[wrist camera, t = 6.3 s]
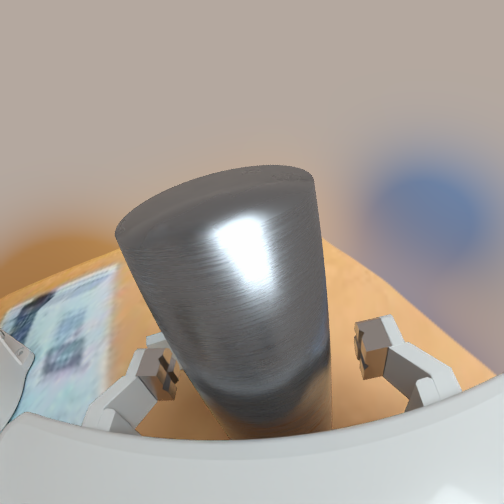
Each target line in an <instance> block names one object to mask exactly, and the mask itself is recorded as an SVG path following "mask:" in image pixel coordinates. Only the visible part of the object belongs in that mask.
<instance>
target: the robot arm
mask: <svg viewBox="0 0 504 504" xmlns="http://www.w3.org/2000/svg"><path fill="white" fill-rule="evenodd" d="M354 330H355V333H356V335H355V337H354V346H355V352H356V356H357V359H358V360H360V371H361V374H362V378H363V380H366V379H371V378H376V377H380V376H383V377H384V378H385V379H386V380H387V381H389V382H390V383H391V384H392V385H393V386H394V387H395V388H397V389H398V390H399V391H400V392H401V393H402V394H403V395H405V396H406V397H407V398H408V399H409V402H408V405H407V407H406V409H405V412H404V413H401V414H398V415H394V416H391V417H387V418H383V419H380V420H376V421H372V422H368V423H363V424H359V425H354V426H350V427H345V428H340V429H334V430H329V431H323V432H316V433H310V434H302V435H294V436H286V437H275V438H263V439H247V440H183V439H167V438H155V437H145V436H141V434H139V433H138V432H137V431H136V430H135V428H136V427H137V426H138V424H139V423H140V422H141V421H142V420H143V418H144V417H145V416H146V415H147V414H148V412H149V411H150V410H151V409H152V408H153V406H154V405H155V404H156V403H157V401H167V400H174V399H175V395H176V391H177V387H176V385H175V384H176V383H177V382H178V381H179V378H180V367H179V364H178V362H177V360H175V359H174V358H172V357H171V356H172V352H171V351H170V349H169V348H147V349H137V350H136V351H135V353H134V355H133V358H132V360H131V363H130V365H129V368H128V370H127V373H126V375H125V376H122V377H121V378H120V379H119V380H118V381H116V382H115V383H114V384H113V385H112V386H111V387H110V388H108V389H107V390H106V391H105V392H104V393H103V394H102V395H100V396H99V397H98V398H97V399H96V400H95V401H94V402H92V403H91V404H90V405H89V407H88V410H87V412H86V415H85V417H84V420H83V422H82V425H81V426H79V425H74V424H70V423H66V422H62V421H58V420H55V419H51V418H48V417H44V416H41V415H38V414H34V413H31V412H24V413H23V414H21V415H19V416H18V417H17V418H15V419H14V420H13V421H11V422H10V423H9V424H7V422H8V421H9V419H10V418H11V416H12V414H13V413H14V411H15V409H16V407H17V405H18V402H19V400H20V397H21V394H22V390H23V386H24V381H25V376H26V373H27V371H28V370H29V368H30V366H31V364H32V362H33V360H34V354H33V353H32V352H31V350H30V349H28V348H27V347H26V346H24V345H23V344H21V343H20V342H18V341H17V340H16V339H14V338H13V337H12V336H10V335H9V334H7V333H6V332H5V331H4V330H2V329H1V328H0V431H1V430H2V429H3V428H4V427H5V428H4V429H3V430H2V432H1V433H0V504H504V372H503V373H501V374H499V375H497V376H495V377H493V378H491V379H489V380H487V381H485V382H483V383H481V384H479V385H476V386H474V387H472V388H470V389H467V390H465V391H463V392H462V390H461V388H460V385H459V383H458V381H457V379H456V377H455V375H454V373H453V371H452V369H451V367H449V366H447V365H446V364H444V363H442V362H441V361H439V360H437V359H436V358H434V357H432V356H431V355H429V354H427V353H426V352H424V351H422V350H421V349H419V348H418V347H416V346H414V345H413V344H411V343H409V342H406V343H405V341H404V339H403V337H402V335H401V333H400V331H399V329H398V327H397V324H396V322H395V320H394V318H393V316H392V315H391V314H390V315H386V316H381V317H377V318H373V319H368V320H364V321H360V322H355V327H354ZM6 424H7V425H6ZM5 425H6V426H5Z"/></svg>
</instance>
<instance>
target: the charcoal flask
mask: <svg viewBox="0 0 504 504" xmlns="http://www.w3.org/2000/svg"><path fill="white" fill-rule="evenodd" d="M115 237H116V240H117V242H118V244H119V246H120V249H121V251H122V253H123V256H124V258H125V260H126V262H127V264H128V267H129V269H130V271H131V273H132V275H133V277H134V279H135V281H136V283H137V285H138V287H139V290H140V292H141V294H142V296H143V298H144V300H145V301H146V303H147V305H148V307H149V309H150V311H151V313H152V315H153V317H154V319H155V321H156V322H157V324H158V326H159V328H160V330H161V332H162V333H163V335H164V337H165V339H166V341H167V342H168V344H169V346H170V347H171V349H172V351H173V353H174V354H175V356H176V358H177V359H178V361H179V363H180V364H181V366H182V368H183V369H184V371H185V373H186V374H187V376H188V377H189V379H190V381H191V382H192V384H193V385H194V387H195V388H196V390H197V392H198V393H199V395H200V396H201V398H202V399H203V401H204V402H205V404H206V405H207V407H208V408H209V410H210V411H211V413H212V414H213V415H214V417H215V418H216V420H217V421H218V423H219V424H220V425H221V427H222V428H223V430H224V431H225V432H226V434H227V435H228V436H229V438H230V439H231V440H247V439H263V438H275V437H286V436H294V435H302V434H310V433H316V432H323V431H329V430H332V379H331V351H330V331H329V315H328V301H327V289H326V277H325V267H324V257H323V247H322V238H321V230H320V222H319V214H318V206H317V199H316V192H315V185H314V179H313V177H312V175H311V174H310V173H309V172H307V171H305V170H303V169H300V168H296V167H292V166H281V165H262V166H251V167H243V168H237V169H231V170H226V171H221V172H217V173H213V174H210V175H206V176H203V177H199V178H196V179H193V180H190V181H188V182H185V183H182V184H179V185H177V186H174V187H172V188H170V189H168V190H166V191H163V192H161V193H160V194H157V195H155V196H154V197H152V198H150V199H148V200H147V201H145V202H143V203H142V204H140V205H139V206H137V207H136V208H134V209H133V210H132V211H131V212H129V213H128V214H127V215H126V216H125V217H124V218H123V219H122V220H121V221H120V223H119V224H118V226H117V228H116V231H115Z"/></svg>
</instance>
